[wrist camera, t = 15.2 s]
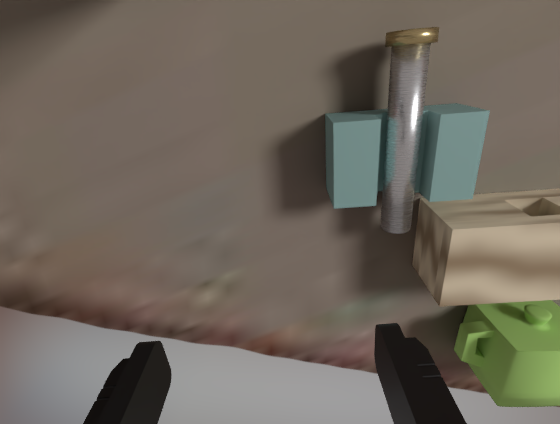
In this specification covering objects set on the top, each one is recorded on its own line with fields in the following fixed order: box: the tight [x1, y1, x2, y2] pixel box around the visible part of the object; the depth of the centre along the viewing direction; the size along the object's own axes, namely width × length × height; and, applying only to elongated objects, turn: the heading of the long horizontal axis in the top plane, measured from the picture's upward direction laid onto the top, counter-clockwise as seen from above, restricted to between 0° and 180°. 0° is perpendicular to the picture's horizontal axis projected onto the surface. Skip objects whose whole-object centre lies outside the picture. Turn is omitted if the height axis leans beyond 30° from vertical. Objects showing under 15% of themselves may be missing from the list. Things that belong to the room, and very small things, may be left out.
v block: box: [325, 103, 490, 209], centre depth 31 cm, size 8×13×6 cm, turn 94°
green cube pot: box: [454, 300, 560, 407], centre depth 39 cm, size 18×10×10 cm, turn 91°
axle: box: [380, 27, 439, 234], centre depth 30 cm, size 18×4×4 cm, turn 4°
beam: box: [412, 189, 560, 306], centre depth 34 cm, size 9×20×8 cm, turn 94°
